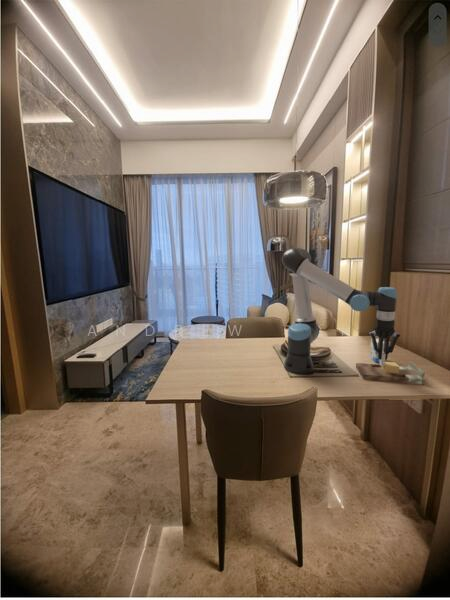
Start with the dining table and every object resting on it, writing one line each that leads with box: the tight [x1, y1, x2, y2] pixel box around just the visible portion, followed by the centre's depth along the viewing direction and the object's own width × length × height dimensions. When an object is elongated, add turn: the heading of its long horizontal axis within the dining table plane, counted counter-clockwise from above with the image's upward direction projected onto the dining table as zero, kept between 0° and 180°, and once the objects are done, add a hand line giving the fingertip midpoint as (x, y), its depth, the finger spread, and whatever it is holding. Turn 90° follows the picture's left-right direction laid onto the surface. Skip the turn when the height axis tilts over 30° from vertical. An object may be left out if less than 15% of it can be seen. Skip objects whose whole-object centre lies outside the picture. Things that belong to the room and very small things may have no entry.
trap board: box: [355, 360, 425, 386], centre depth 122 cm, size 25×14×6 cm, turn 75°
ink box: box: [369, 338, 384, 364], centre depth 141 cm, size 9×5×12 cm, turn 168°
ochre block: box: [381, 361, 400, 374], centre depth 122 cm, size 6×5×4 cm
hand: (381, 365), depth 123 cm, fingers closed
